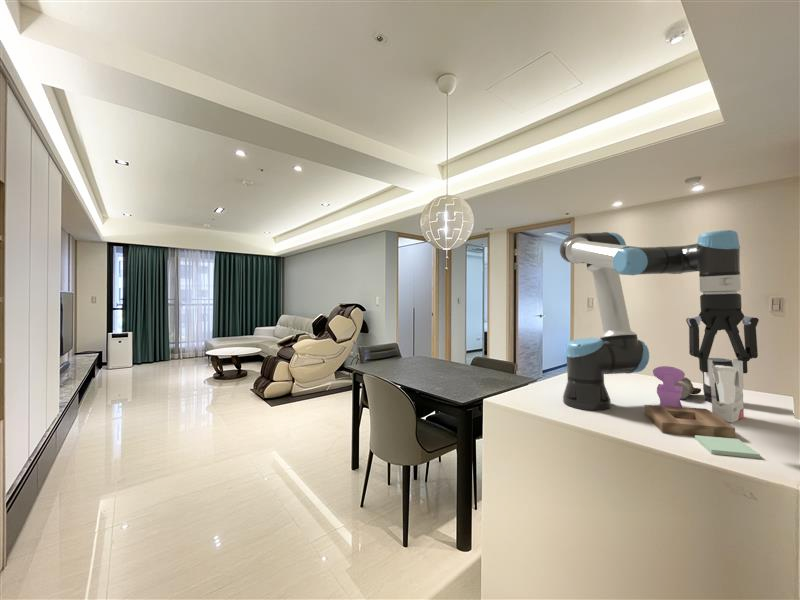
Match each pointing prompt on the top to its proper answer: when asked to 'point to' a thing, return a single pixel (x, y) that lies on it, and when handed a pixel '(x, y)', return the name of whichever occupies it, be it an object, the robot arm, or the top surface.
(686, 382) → the ceramic sculpture
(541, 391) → the top surface
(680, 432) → the pocket block
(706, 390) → the camera lens
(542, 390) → the top surface
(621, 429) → the top surface
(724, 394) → the milkshake
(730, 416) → the ink cartridge box
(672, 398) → the toy chair
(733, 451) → the mat
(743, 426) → the top surface
